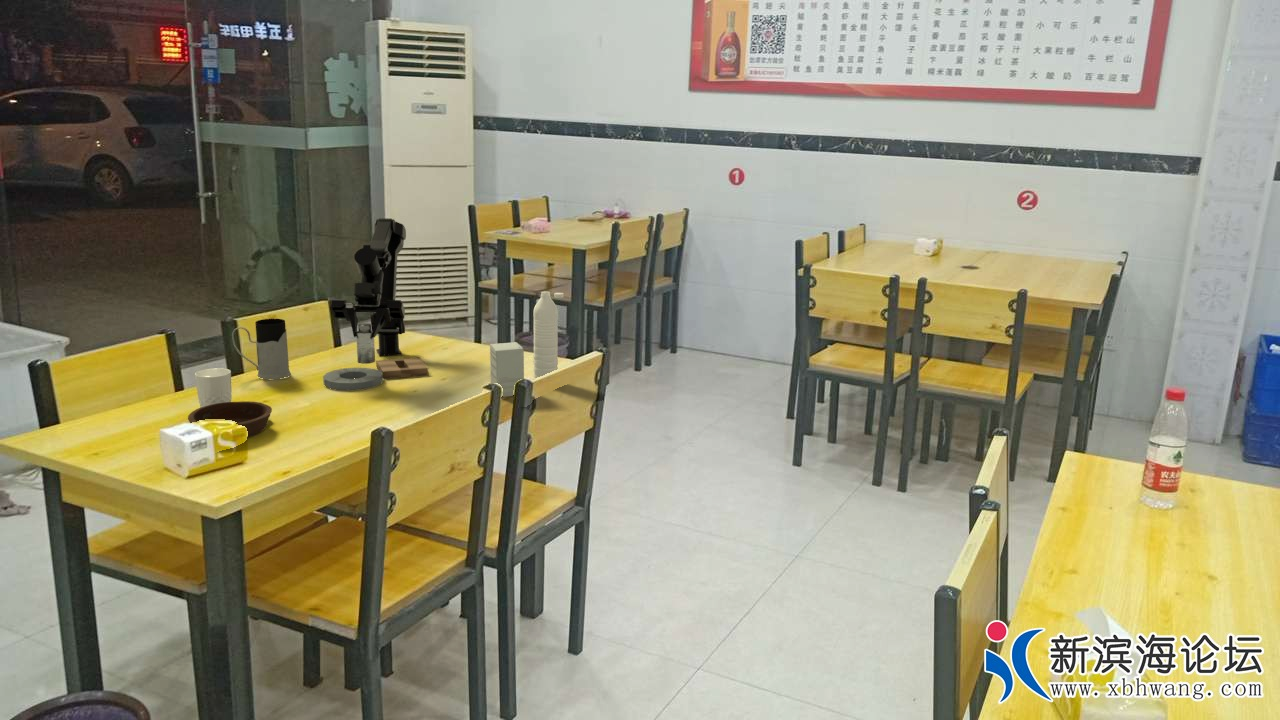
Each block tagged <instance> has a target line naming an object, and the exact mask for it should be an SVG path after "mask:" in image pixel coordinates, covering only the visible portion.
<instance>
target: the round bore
mask: <svg viewBox="0 0 1280 720" xmlns="http://www.w3.org/2000/svg"><path fill="white" fill-rule="evenodd" d="M354 378H355V379H354ZM322 382H323V385H325V386H326V388H327V387H328V389H330V388H331V389H330V390H334V389H336V390H335V391H347V390H353V391H362V390H363V389H364V390H367V389H373V388H375V387H378V386H380V385H381V384H382V383H384V379H383V374H382V372H381V371H379V370H378V369H377V368H369V367H345V368H339V369H335V370H334V369H333V370H332V371H331V370H330V371H328V372H326V373H325V374H324V375H323V376H322ZM325 386H324V387H325Z"/></svg>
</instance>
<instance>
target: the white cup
mask: <svg viewBox="0 0 1280 720" xmlns="http://www.w3.org/2000/svg"><path fill="white" fill-rule="evenodd" d="M194 378H195V385H196V391H197V397H198V398H197V399H198V403H199V406H200V407H199V408H201V407H204V406H208V405H212V404H218V403H225V402H232V398H233V397H232V393H233V392H232V371H231V369H228V368H221V367H217V368H216V367H215V368H214V367H212V368H206V369H202V370H198V371H196V372H195V373H194Z"/></svg>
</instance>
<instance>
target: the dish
mask: <svg viewBox="0 0 1280 720" xmlns="http://www.w3.org/2000/svg"><path fill="white" fill-rule="evenodd" d="M272 411H273V409H272V407H271V406H270V405H268V404H265V403H263V402H259V401H249V400H248V401H244V400H243V401H231V402H225V403H218V404H212V405H208V406H204V407H201V408H200V407H199V408H198V407H197V408H196V409H195V410H192V411H191V412H190V413H189V414H188V415H187V419H188V422H189V423H190V424H191V423H192V422H197V421H199V420H205V419H225V420H232V421H235V422H237V423H236V424H238V425H242V426H245V427H246V428H247V431H248V438H250V436H251V437H254V436H256V435H257V434H260V433H261V432H263V431H264V430H265V429H266V428H267V426H268V423H269V422H268V421H269V418H270V417H271V413H272Z"/></svg>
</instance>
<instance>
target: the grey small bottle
mask: <svg viewBox="0 0 1280 720" xmlns="http://www.w3.org/2000/svg"><path fill="white" fill-rule="evenodd" d="M357 329H358V330H357V332H356V337H355V338H356V339H355V340H356V355H357V363H359V364H361V365H363V364H365V365H366V364H372V363H376V352H375V349H376V347H375V337H373V336H372V334H373V331H372V326H371V323H369V322H368V323H367V322H363V323H359V324H358V325H357Z"/></svg>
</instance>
